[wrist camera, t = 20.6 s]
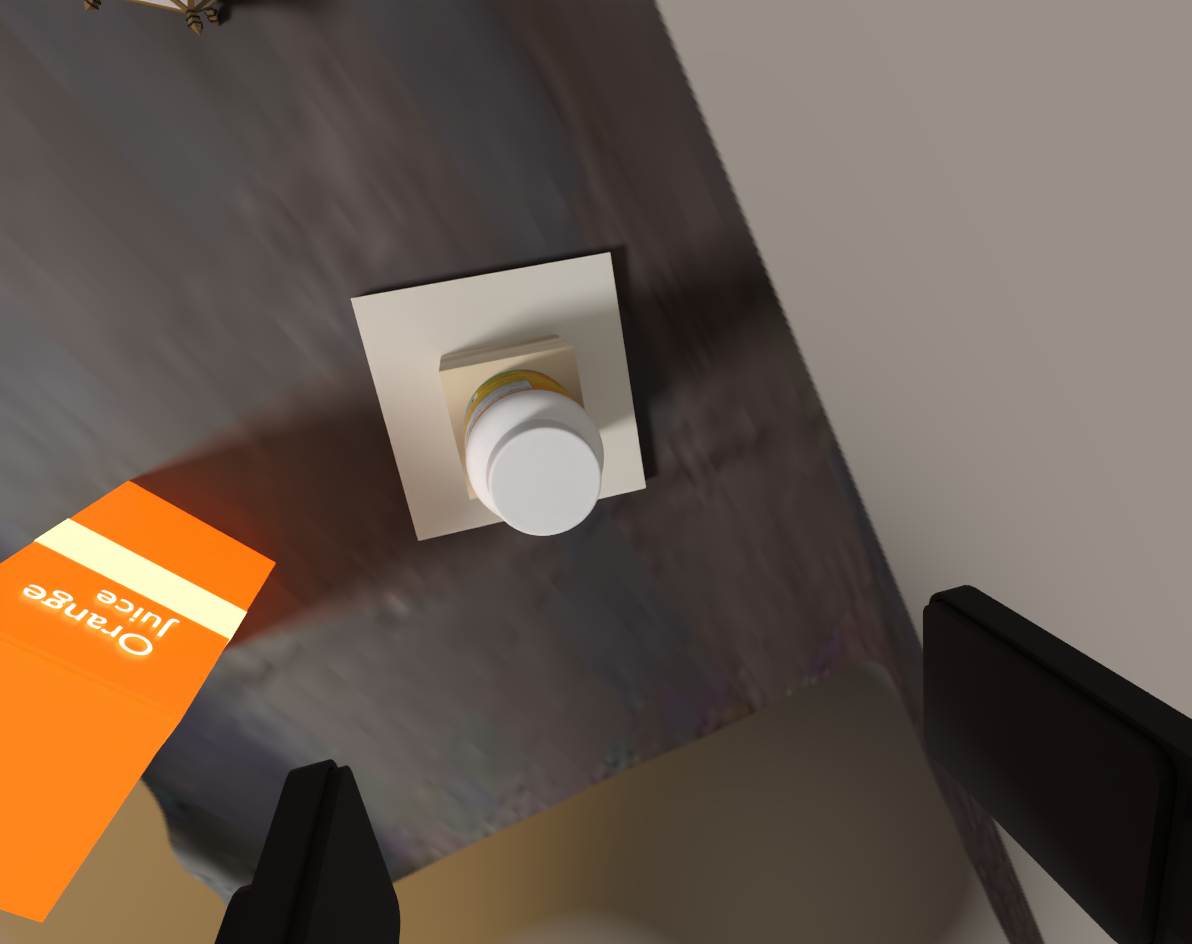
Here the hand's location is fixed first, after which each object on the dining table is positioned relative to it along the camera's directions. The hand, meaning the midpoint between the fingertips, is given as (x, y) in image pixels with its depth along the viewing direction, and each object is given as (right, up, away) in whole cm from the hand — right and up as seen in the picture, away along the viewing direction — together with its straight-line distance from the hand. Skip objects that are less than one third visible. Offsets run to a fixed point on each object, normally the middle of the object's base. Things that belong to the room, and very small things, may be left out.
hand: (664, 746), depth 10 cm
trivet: (-6, +9, +28) cm, 30 cm away
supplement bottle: (-5, +7, +22) cm, 23 cm away
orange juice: (-25, -1, +28) cm, 38 cm away
